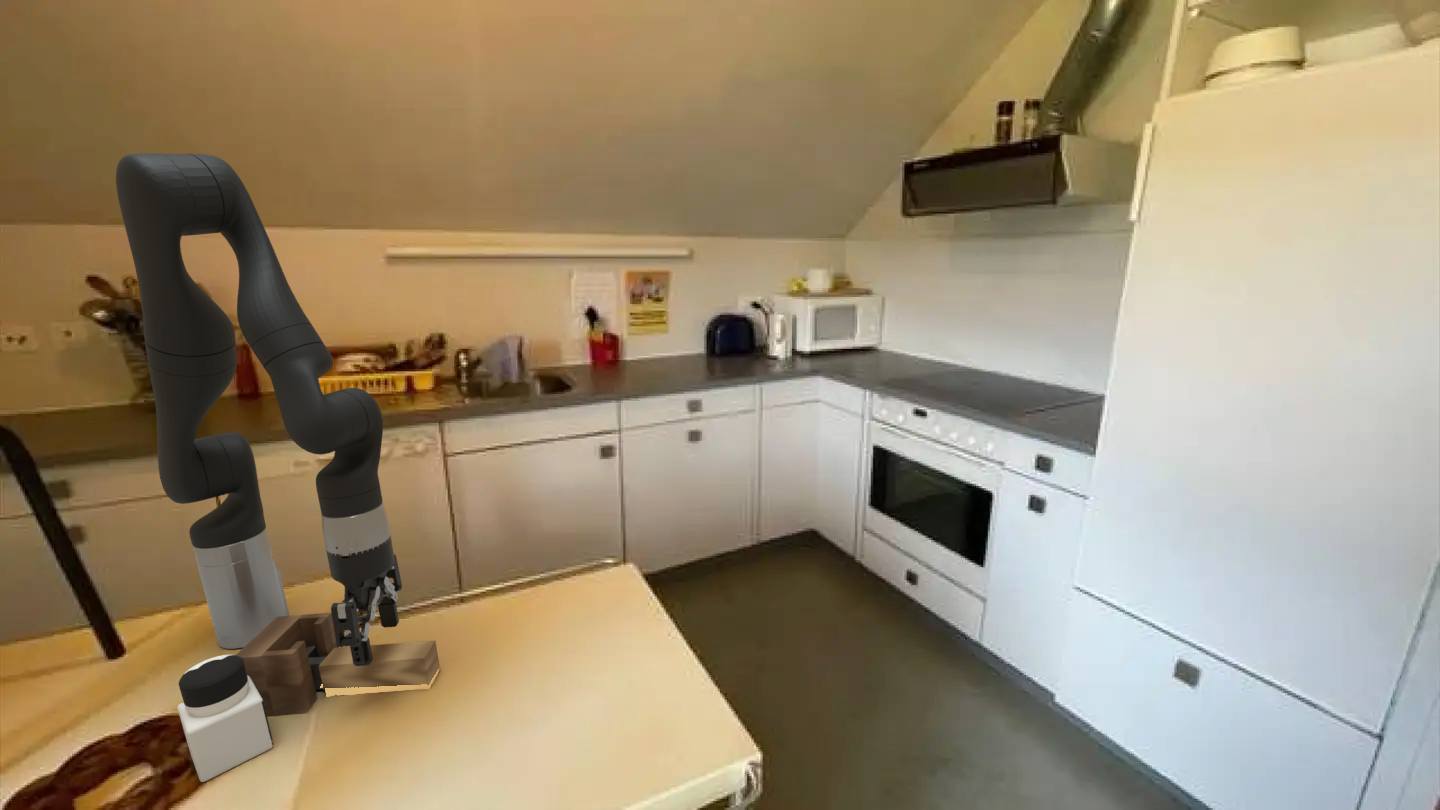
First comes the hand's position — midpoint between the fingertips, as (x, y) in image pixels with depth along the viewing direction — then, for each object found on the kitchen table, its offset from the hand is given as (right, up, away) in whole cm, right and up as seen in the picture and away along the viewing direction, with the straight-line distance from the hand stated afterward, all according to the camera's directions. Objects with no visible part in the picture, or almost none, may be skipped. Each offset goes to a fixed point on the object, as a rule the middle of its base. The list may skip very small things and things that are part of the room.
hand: (377, 644), depth 86 cm
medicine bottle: (-12, -9, -10) cm, 18 cm away
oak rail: (-2, -6, +1) cm, 6 cm away
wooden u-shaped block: (-11, -7, 0) cm, 13 cm away
